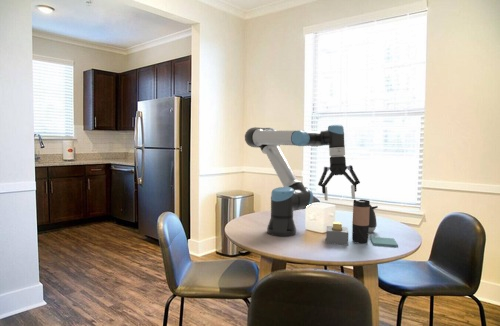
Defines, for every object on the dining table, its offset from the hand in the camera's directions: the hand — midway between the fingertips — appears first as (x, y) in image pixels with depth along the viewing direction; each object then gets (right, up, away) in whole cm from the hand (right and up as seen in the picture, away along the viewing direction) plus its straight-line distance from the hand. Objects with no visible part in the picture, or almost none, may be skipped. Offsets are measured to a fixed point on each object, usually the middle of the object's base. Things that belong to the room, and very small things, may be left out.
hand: (339, 199), depth 171 cm
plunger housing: (-2, -20, -3) cm, 20 cm away
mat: (+20, -21, -4) cm, 29 cm away
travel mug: (+9, -20, -2) cm, 22 cm away
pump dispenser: (+18, -19, +16) cm, 31 cm away
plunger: (-2, -17, -3) cm, 17 cm away
